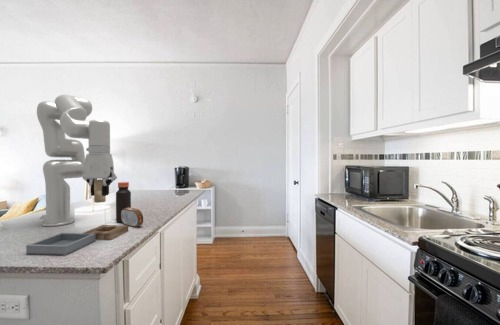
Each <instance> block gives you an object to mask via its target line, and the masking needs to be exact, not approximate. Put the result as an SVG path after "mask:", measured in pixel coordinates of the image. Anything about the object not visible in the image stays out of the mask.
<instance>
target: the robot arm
mask: <svg viewBox="0 0 500 325" xmlns="http://www.w3.org/2000/svg"><path fill="white" fill-rule="evenodd" d="M92 112H93V104H92V102H91V100H89V99H87V98H84V97H81V96H80V97H79V96H75V95H69V94H61V95H58V96H56V98H55V99H54V101H50V100H49V101H48V100H47V101H41V102H39V103H38V104H37V108H36V116H37V120H38V123H39V125H40V127H41V129H42V134H43V143H44V152H45V154H46V155H47V157H50V158H59V159H50V160H47V161H45V162H44V164H43V165H42V172H43V177H44V184H45V214H42V215H41V216H40V217H39V220H43V222H41V226H42V227H59V226H60V227H61V226H64V225H69V224H71V223H74V222H75V219H74V218H73V217H71V187H70V185H69V183H68V182H67V181H66V180H65V179H77V178H78V179H79V178H82V180H84V181H86V183H88V185H89V186H90V196H91V197H94V180H100V179H102V180H103V185H104V186H102V196H108V195H109V193H110V185H111V184H112V183H113V182H114V181H115V180H117V179H118V177H117V175H116V173H115V168H114V160H113V156H112V153H111V124H110V122H109V121H107V120H103V119H92V120H87V117H89V116H90V115H91V114H92ZM57 120H58V121H59V122H58V121H57ZM66 136H68V137H69V138H73V139H68V138H66ZM78 139H82V140H83V139H87V140H88V147H86V149H85V147H84V144H83V143H82V141H80V140H78ZM85 150H86V152H88V153H86V155H85ZM61 158H62V159H61ZM63 158H67V159H63ZM68 158H70V159H68Z"/></svg>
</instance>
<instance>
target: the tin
mask: <svg viewBox="0 0 500 325" xmlns="http://www.w3.org/2000/svg"><path fill="white" fill-rule="evenodd" d="M121 220H122V222H123V223H122V224H124V225H128V227H133V228H137V227H141V226H142V225H143V223H144V215H143V213H142V211H141V210H140V209H139V208H134V207H131V208H130V207H127V208H124V209H122V211H121Z"/></svg>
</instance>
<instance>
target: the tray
mask: <svg viewBox="0 0 500 325" xmlns="http://www.w3.org/2000/svg"><path fill="white" fill-rule="evenodd" d="M96 241H97V240H96V234H89V233H84V232H81V233H80V232H79V233H78V232H77V233H76V232H60V233H57V234H55V235H51V236H48V237H47V238H43V239H41V240H37V241H35V242H32V243H29V244H27V245H25V247H26V248H25V252H26V253H25V254H26V255H37V256H40V255H41V256H42V255H43V256H68V255H70V254H72V253H74V252H77V251H78V250H80V249H83V248H85V247H86V246H87V247H88V246H89V245H91V244H93V243H95V242H96Z"/></svg>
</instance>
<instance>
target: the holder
mask: <svg viewBox="0 0 500 325" xmlns="http://www.w3.org/2000/svg"><path fill="white" fill-rule="evenodd" d="M127 232H128V233H129V226H128V225H125V224H124V225H121V224H120V225H119V224H118V225H117V224H115V225H114V224H102V225H99V226H96V227H94V228H91V229H89V230H87V231H84V232H83V233H89V234H96V241H97V240H98V241H99V240H101V241H102V240H104V241H112V240H114V239H116V238H118V237H120V236H122V235H124V234H125V233H127Z"/></svg>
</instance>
